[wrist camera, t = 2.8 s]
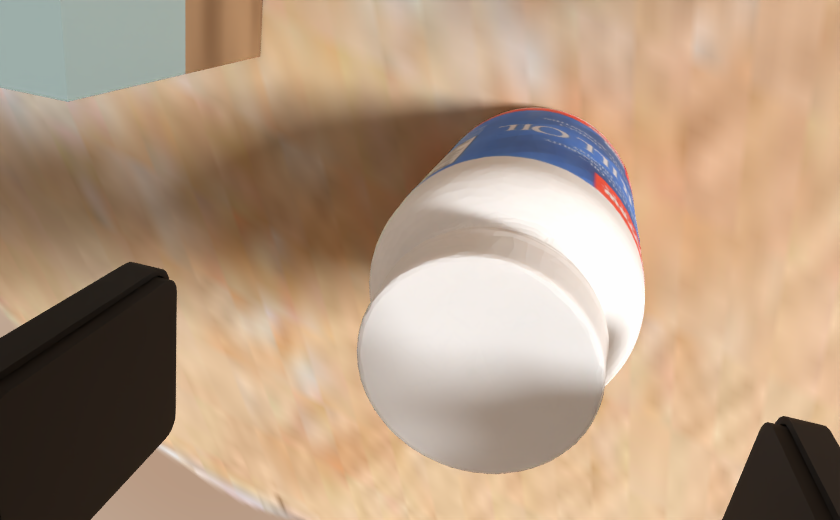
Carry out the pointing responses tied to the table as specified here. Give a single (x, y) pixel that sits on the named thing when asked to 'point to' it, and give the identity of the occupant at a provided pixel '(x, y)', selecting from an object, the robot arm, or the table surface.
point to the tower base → (221, 32)
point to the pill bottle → (505, 295)
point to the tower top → (89, 45)
